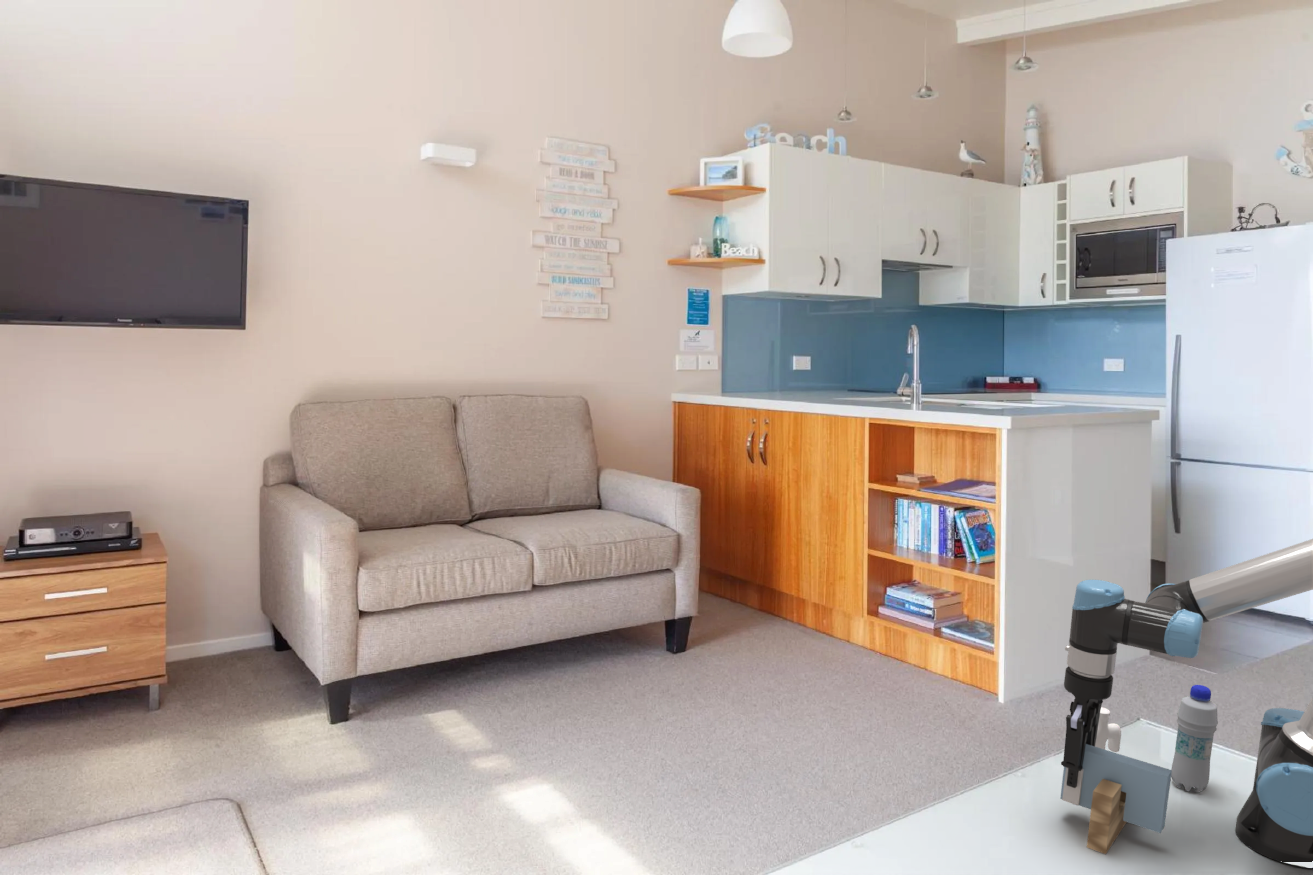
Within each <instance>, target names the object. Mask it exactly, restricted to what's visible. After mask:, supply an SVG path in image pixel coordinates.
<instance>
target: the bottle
mask: <svg viewBox="0 0 1313 875" xmlns="http://www.w3.org/2000/svg"><path fill="white" fill-rule="evenodd" d="M1211 698H1212V691H1211V689H1210V688H1209V687H1207V686H1205V685H1203V684H1193V685H1192V686H1191V688H1190V691H1189V696H1185V697H1182V698H1181V701H1180V703H1179V708H1178V709H1177V710H1178V711H1177V713H1176V714H1177V718H1176V722H1177V725H1178V726H1177V731H1176V732H1177V733H1176V740H1175V747H1174V748H1175V749H1174V755H1173V758H1172V759H1173V760H1172V762H1171V763H1172V764H1171V769H1170V770H1172V773H1171V780H1172V782H1173V783H1174V785H1175V786H1176V787H1178V788H1182V786H1184V790H1185V791H1187V792H1190V791H1191V790H1192V788H1194V792H1195V793H1200V792H1202V791H1204V790H1206V789H1207V787H1208V785H1209V781H1210V771H1211V770H1210V769H1211V758H1212V751H1213V743H1214V735H1215V733H1216V731H1217V727H1218V723H1219V722H1218V706H1217V704H1216V703H1214V702H1213V701H1211Z"/></svg>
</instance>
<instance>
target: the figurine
mask: <svg viewBox="0 0 1313 875" xmlns="http://www.w3.org/2000/svg"><path fill="white" fill-rule="evenodd" d="M1110 716H1111V710H1109V709H1108V708H1106V707H1103V706H1101V710H1100V716H1099V723H1098V730H1097V737H1096V743H1095V747H1098V748H1101V749H1104V750H1106V744H1107V748H1108V751H1111V752H1114V753H1118V752H1120V749H1121V748H1120V747H1121V740H1122V730H1121V727H1120V725H1119V724H1117V723H1114V722H1113V723H1109V720H1110Z"/></svg>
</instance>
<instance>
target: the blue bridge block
mask: <svg viewBox="0 0 1313 875" xmlns="http://www.w3.org/2000/svg"><path fill="white" fill-rule="evenodd" d="M1082 766H1083V768H1082V769H1084V772H1083V781H1082V789H1081V797H1080V804H1079V806H1081V807H1083V808H1086V809H1088V810H1091V805H1092V797H1093V791H1094V789H1095V788H1096V787H1097V785H1098V784H1099V783H1100V782H1101V780H1102V779H1105V780H1109V781H1112V782H1115V783H1118V784H1121V785H1122V787H1121V791H1122V792H1125V793H1126V801H1125V809H1124V817H1123V821H1126V822H1127V823H1129V824H1132V825H1135V826H1138V827H1141V828H1143V829H1147V830H1149V831H1153V832H1155V833H1158V834H1161V833H1162V831H1163V830H1164V828H1165V827H1166V826H1165V825H1166V817H1167V812H1168V811H1167V810H1168V804H1169V803H1168V802H1169V794H1170V788H1171V780H1172V778H1171V773H1172V770H1171V769H1170V768H1166V767H1162V766H1160V765H1156V764H1152V763H1149V762H1146V761H1143V760H1140V759H1138V758H1133V757H1131V756H1127V755H1123V754H1121V753H1118V752H1113V751H1111V750H1109V749H1105V750H1104V749H1101V748H1098V747H1095V746H1091V745H1088V744H1086V747H1085V753H1084V759H1083V765H1082ZM1065 772H1066V767H1064V766H1063V772H1062V782H1061V792H1060V800H1062V797H1063V789H1064V781H1065Z"/></svg>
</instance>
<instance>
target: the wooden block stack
mask: <svg viewBox="0 0 1313 875" xmlns="http://www.w3.org/2000/svg"><path fill="white" fill-rule="evenodd" d="M1121 787H1122V785H1121V784H1118V783H1115V782H1112V781H1109V780H1105V779H1102V780H1101V782H1100V783H1099V784H1098V785H1097V787H1096V788H1095V789H1094V791H1093V797H1092V805H1091V809H1090V815H1089V822H1088V823H1089V824H1088V831H1087V833H1088V834H1087V842H1086V848H1088V849H1090V850H1093V851H1096V852H1099V853H1101V854H1103V855H1107V853H1108V852H1109V850H1110V849H1111V847H1112V846H1113V844H1114V842H1115V841H1116V839H1117V838H1118V836H1119V835H1120V833H1122V832H1121V831H1122V830H1123V829H1124V827H1125V825H1126V824H1127V823H1128V822H1126V821H1123V817H1124V809H1125V801H1126V793H1125V792H1122V791H1121Z"/></svg>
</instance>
